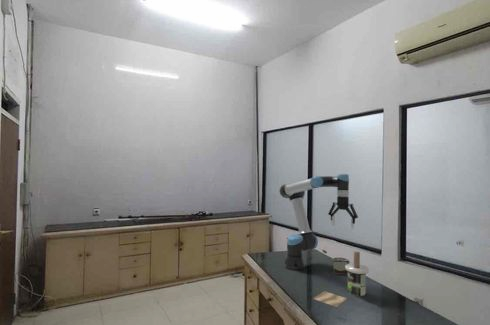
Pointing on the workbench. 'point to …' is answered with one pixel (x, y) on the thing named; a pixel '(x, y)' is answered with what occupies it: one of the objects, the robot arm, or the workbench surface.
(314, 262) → the workbench surface
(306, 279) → the workbench surface
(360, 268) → the lid
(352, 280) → the coffee can
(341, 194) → the robot arm
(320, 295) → the mat
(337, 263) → the food container
